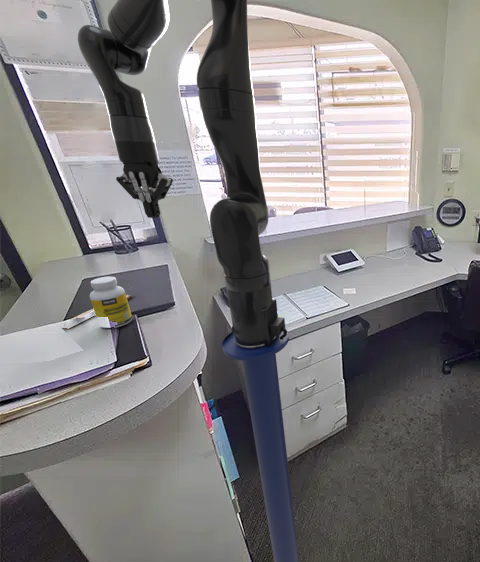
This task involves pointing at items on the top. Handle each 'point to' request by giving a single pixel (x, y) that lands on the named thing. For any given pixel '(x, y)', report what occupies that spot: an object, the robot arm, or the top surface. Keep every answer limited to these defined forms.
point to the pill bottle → (110, 301)
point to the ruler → (93, 309)
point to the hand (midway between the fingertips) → (153, 217)
